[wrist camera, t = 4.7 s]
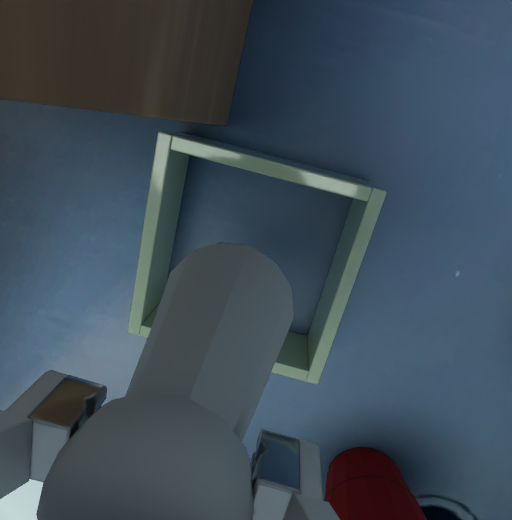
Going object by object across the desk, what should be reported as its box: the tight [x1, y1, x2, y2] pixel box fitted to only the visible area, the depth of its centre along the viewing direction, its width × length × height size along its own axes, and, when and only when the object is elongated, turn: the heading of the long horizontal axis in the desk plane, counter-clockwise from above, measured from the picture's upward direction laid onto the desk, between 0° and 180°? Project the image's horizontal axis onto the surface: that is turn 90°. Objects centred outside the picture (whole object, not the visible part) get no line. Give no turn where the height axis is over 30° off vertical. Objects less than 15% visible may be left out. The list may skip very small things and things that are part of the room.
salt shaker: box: [37, 242, 294, 520], centre depth 13 cm, size 6×6×13 cm
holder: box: [128, 131, 387, 384], centre depth 24 cm, size 13×13×4 cm
